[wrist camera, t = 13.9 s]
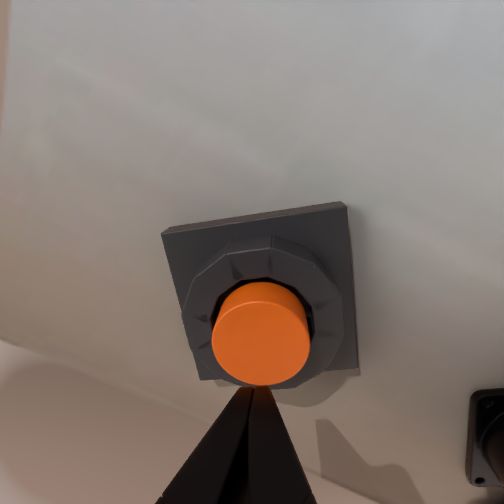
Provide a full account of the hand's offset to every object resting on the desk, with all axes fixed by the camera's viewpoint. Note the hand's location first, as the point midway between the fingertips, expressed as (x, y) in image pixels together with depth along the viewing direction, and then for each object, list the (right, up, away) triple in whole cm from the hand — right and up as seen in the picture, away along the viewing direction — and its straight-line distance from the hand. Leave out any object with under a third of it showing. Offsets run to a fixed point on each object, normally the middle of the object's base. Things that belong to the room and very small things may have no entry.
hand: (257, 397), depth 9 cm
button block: (+1, +2, +6) cm, 7 cm away
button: (0, +1, +4) cm, 4 cm away
